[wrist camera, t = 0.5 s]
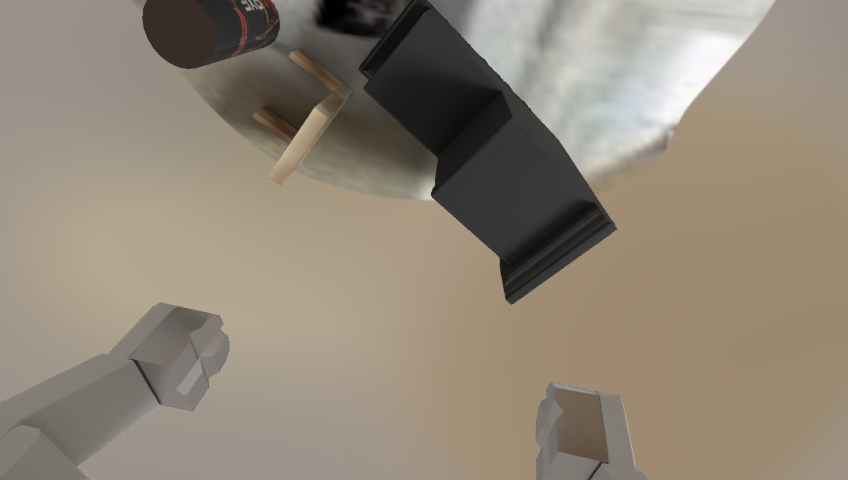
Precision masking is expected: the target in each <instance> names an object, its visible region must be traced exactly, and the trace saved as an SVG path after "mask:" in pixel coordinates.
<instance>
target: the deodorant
mask: <svg viewBox="0 0 848 480" xmlns="http://www.w3.org/2000/svg"><path fill="white" fill-rule="evenodd" d="M142 19H143V26H144V30H145V33H146V35H147V38H148V40H149V41H150V43H151V45H152V47H153V48H154V49H155V50H156V52H157V53H158V54H159V55H160V56H161V57H162V58H164V59H165V60H166V61H168V62H169V63H171V64H173V65H175V66H177V67H180V68H185V69H192V68H198V67H202V66H205V65H208V64H211V63H215V62H218V61H221V60H224V59H228V58H231V57H234V56H237V55H241V54H244V53H247V52H251V51H254V50H257V49H260V48H264V47H266V46H268V45H270V44H271V43H272V42H274V41H275V39H276V37H277V36H278V32H279V28H280V20H279V16H278V12H277V10H276V8H275V5H274V4H273V3H272V1H271V0H147V1H146V3H145V6H144V8H143V17H142Z"/></svg>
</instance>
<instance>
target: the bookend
mask: <svg viewBox="0 0 848 480" xmlns="http://www.w3.org/2000/svg"><path fill="white" fill-rule="evenodd" d="M359 71H360V72H361V73H363V74H364V75H365V76H366V77H367V78H368V79H369V81H368V83H367V84H366V85H365V86H364V88H363V89H364V90H365V91H366V92H367V93H368V94H369V95H370V96H371V97H372V98H373V99H374V100H376V101H377V102H378V103H379V104H380V105H381V106H382V107H383V108H384V109H385V110H386V111H387V112H389V113H390V114H391V115H392V116H393V117H394V118H395V119H396V120H397V121H398V122H399V123H400V124H401V125H402V126H404V127H405V128H406V129H407V130H408V131H409V132H410V133H411V134H412V135H413V136H414V137H416V138H417V139H418V140H419V141H420V142H421V143H422V144H423V145H424V146H425V147H426V148H427V149H429V150H430V151H431V152H432V153H433V154H434V155H435V156H436V157H437V158H438V163H437V170H436V177H435V186H434V187H433V189H432V192H431V196H432V198H434V199H435V200H436V201H437V202H438V203H439V204H440V205H442V206H443V207H444V208H445V209H446V210H447V211H448V212H449V213H450V214H452V215H453V216H454V217H455V218H456V219H457V220H458V221H459V222H461V223H462V224H463V225H464V226H465V227H466V228H467V229H468V230H470V231H471V232H472V233H473V234H474V235H476V237H478V238H479V239H480V240H481V241H482V242H483V243H484V244H485V245H486V246H488V247H489V248H490V249H491V250H492V251H493V252H495V253H496V254H497V255H498V256H499V258H500V272H501V277H502V282H503V288H504V292H505V298H506V300H507V301H508V302H509V303H510V304H514V303H515V302H517V301H518V300H519V299H521V298H522V297H524V296H525V295H526V294H528V293H529V292H531V291H532V290H533V289H535V288H536V287H537V286H539V285H540V284H541V283H543V282H544V281H546V280H547V279H549V278H550V277H551V276H553V275H554V274H556V273H557V272H558V271H560V270H561V269H563V268H564V267H565V266H567V265H568V264H570V263H571V262H572V261H574V260H575V259H577V258H578V257H579V256H581V255H582V254H583V253H585V252H586V251H588V250H589V249H590V248H592V247H593V246H595V245H596V244H598V243H599V242H600V241H602V240H603V239H604V238H606V237H607V236H609V235H610V234H611V233H612V232H614V231H615V230H617V228H616V226H615V224H614V222H613V221H612V220H611V219H610V217H609V216H608V214H607V213H606V211H605V209H604V208H603V206H602V205H601V203H600V202H599V200H598V199H597V197H596V196H595V194H594V193H593V191H592V190H591V188H590V187H589V185H588V184H587V182H586V181H585V179H584V178H583V176H582V175H581V173H580V172H579V170H578V169H577V167H576V166H575V164H574V162H573V161H572V160H571V158H570V156H569V155H568V153H567V152H566V150H565V149H564V147H563V146H562V144H561V143H560V141H559V140H558V139H557V138H556V137H555V136H554V134H553V133H552V132H551V131H550V130H549V129H548V128H547V127H546V126H545V125H544V124H543V123H542V122H541V121H540V119H539V118H537V116H536V115H535V114H534V113H533V112H532V110H531V109H530V108H529V107H528V105H526V103H525V102H524V101H523V100H521V99H520V98H519V96H517V94H515V93H514V92H513V91H512V89H511V87H510V86H509V85H508V84H507V83H506V82H504V81H503V79H501V77H500V76H499V75H498V74H497V72H495V71H494V70H493V69H492V68H491V67H490V66H489V65H488V63H487V62H486V60H485V59H484V58H482V57H481V56H480V55H479V54H478V53H477V52H475V50H474V49H473V48H472V47H471V45H470V44H468V43H467V42H466V40H464V38H462V37H461V35H460V34H459V33H458V32H457V31H456V30H455V29H454V28H453V27H452V26H451V25H450V24H449V23H448V21H447V20H446V19H444V18H443V17H442V16H441V14H440V13H439V12H438V11H437V10H436V9H435V8H434V7H433V5H432V4H430V3H429V2H428V1H427V0H412V1H411V2H410V3H409V4H408V6H407V7H406V8H405V9H404V11H403V12H402V13H401V15H400V16H399V17H398V18H397V20H396V21H395V22H394V23H393V25H392V26H391V27H390V28H389V29H388V31H387V32H386V33H385V34H384V35H383V36H382V39H381V40H380V41H379V42H378V43H377V45H376V46H375V47H374V48H373V50H372V51H371V52H370V54H369V55H368V57H367V58H366V59H365V60H364V62H363V63H362V64H361V66H360V67H359Z"/></svg>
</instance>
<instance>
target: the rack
mask: <svg viewBox="0 0 848 480" xmlns="http://www.w3.org/2000/svg"><path fill="white" fill-rule="evenodd" d="M288 57H289V58H290V59H291V60H293V61H294V62H295V63H296V64H298V65H299V66H300V67H301V68H303V69H304V70H305V71H306V72H308V73H309V74H310V75H311V76H313V77H314V78H315V79H316V80H318V81H319V82H320V83H321V84H323V85H324V86H325V87H326V88H328V89H329V90H330V91H331V92H332V93H331V94H330V95H329V96H328V97H326V98H325V99H324V100H323V101H322V102H320V103H319V104H318V105H317V106H316V107H314V109H313V110H312V112H311V113H310V115H309V116H308V118H307V119H306V121H305V122H304V124H303V125H302V127H301V128H300V130H299V131H298V130H296V129H295V128H294V127H292V126H291V125H290V124H288V123H287V122H286V121H284V120H283V119H282V118H280V117H279V116H278V115H276V114H275V113H274V112H272V111H271V110H270V109H268V108H267V107H266V106H264V107H263V108H261V109H259V110H258V111H256V112H255V113H254V115H253V117H254V118H255V119H256V120H258V121H259V122H260V123H262V124H263V125H265V126H266V127H267V128H269V129H270V130H271V131H273V132H274V133H275V134H277V135H278V136H279V137H281V138H282V139H284V140H285V141H286V142H288V143H289V144H290V145H289V146H288V148H287V149H286V151H285V152H284V154H283V155H282V157H281V158H280V160H279V161H278V163H277V164H276V166H275V167H274V169H273V170H272V172H271V173H270V175H269V177H270V178H271V179H272V180H274V181H275V182H277V183H278V184H280V185H281V184H282V183H283V182H284V181H285V180H286V179H287V178H288V176H289V175H290V174H291V173H292V172H293V171H294V170H295V169H296V167H297V166H298V165H299V164H300V163H301V162H302V161H303V160H304V158H305V157H306V156H307V155H308V154H309V153H310V152H311V151H312V150H313V148H314V147H315V146H316V144H317V143H318V141H319V140H320V138H321V137H322V136H323V134H324V133H325V131H326V130H327V129H328V127H329V126H330V124H331V123H332V121H333V120H334V119H335V117H336V116H337V114H338V113H339V112H340V110H341V109H342V107H343V106H344V104H345V103H346V102H347V100H348V99H349V97H350V96H351V95H352V93H353V91H352V90H351V89H349V88H348V87H347V86H346V85H345V84H343V83H342V82H341V81H340V80H338V79H337V78H336V77H335V76H333V75H332V74H331V73H330V72H329V71H327V70H326V69H325V68H324V67H322V66H321V65H320V64H319V63H318V62H316V61H315V60H314V59H313V58H311V57H310V56H309V55H308V54H306V53H305V52H304V51H303V50H302V49H300V48H299V49H297V50H294V51H292V52H291V53H290V55H289V56H288Z"/></svg>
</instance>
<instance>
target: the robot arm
mask: <svg viewBox="0 0 848 480" xmlns="http://www.w3.org/2000/svg"><path fill="white" fill-rule="evenodd" d="M222 326H223V322H222V319H221V317H220V315H216V314H211V313H207V312H202V311H197V310H193V309H188V308H183V307H180V306H175V305H170V304H165V303H159V304H157V305H155V306H153V307H152V308H151V309H150V310H149V311H148V312H147V313H146V314H145V315H144V316H143V317H142V318H141V319H140V321H139V322H138V323H137V324H136V325H135V326H134V327H133V328H132V329H131V330H130V331H129V332H128V333H127V334H126V335H125V336H124V337H123V339H122V340H121V341H120V342H119V343H118V344H117V345H116V346H115V347H114V348H113V349H112V350H111V351H110V352H109V353H108V354H100V355H98V356H96V357H94V358H91V359H90V360H87V361H85V362H83V363H81V364H79V365H77V366H75V367H73V368H71V369H69V370H67V371H65V372H62V373H60V374H58V375H56V376H54V377H52V378H50V379H48V380H46V381H44V382H42V383H40V384H38V385H36V386H34V387H31V388H30V389H27V390H25V391H23V392H21V393H19V394H17V395H15V396H13V397H11V398H9V399H7V400H5V401H2V402H1V403H0V480H89V479H88V478H87V477H86V476H85V475H84V474H83V473H82V472H81V471H80V470H79V469H78V468H77V466H78V465H79V464H81V463H82V462H84V461H85V460H86V459H88V458H89V457H91V456H92V455H93V454H95V453H96V452H98V451H99V450H100V449H102V448H103V447H105V446H106V445H108V444H109V443H110V442H112V441H113V440H115V439H116V438H117V437H119V436H120V435H122V434H123V433H124V432H126V431H127V430H129V429H130V428H132V427H133V426H134V425H136V424H137V423H138V422H140V421H141V420H143V419H144V418H146V417H147V416H148V415H150V414H151V413H153V412H154V411H155V410H157V409H158V408H160V405H164V406H169V407H175V408H179V409H184V410H189V411H194V409H195V408H196V406H197V405H198V403H199V402H200V400H201V399H202V397H203V396H204V394H205V392H206V391H207V389H208V388H209V382H208V381H209V379H208V378H210V377H211V376H213V375H215V374H216V373H218V372H220V370H221V368H222V367H223V365H224V363H225V362H226V359H227V356H228V353H229V347H230V344H229V343H230V342H229V339H228V336H227V335H226V334H225V333H224V332H223V331H222V330H221V329H220V328H221V327H222ZM546 396H547V397H546V398H547V399H544V400H542V401H541V403H540V406H539V409H538V413H537V419H536V442H537V443H538V445H539V446H540V448H541V450H540V452H539V454H538V457H537V459H536V479H537V480H649V479H648V477H647V476H646V474H645V473H644V472H641V471H638V470H636V465H635V460H634V455H633V450H632V445H631V440H630V435H629V430H628V425H627V420H626V414H625V410H624V405H623V400H622V399H621V397H620V396H619V395H616V394H611V393H605V392H599V391H595V390H593V389H588V388H583V387H577V386H571V385H566V384H561V383H556V382H551V383H550V384H549V385H548V388H547V390H546Z"/></svg>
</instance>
